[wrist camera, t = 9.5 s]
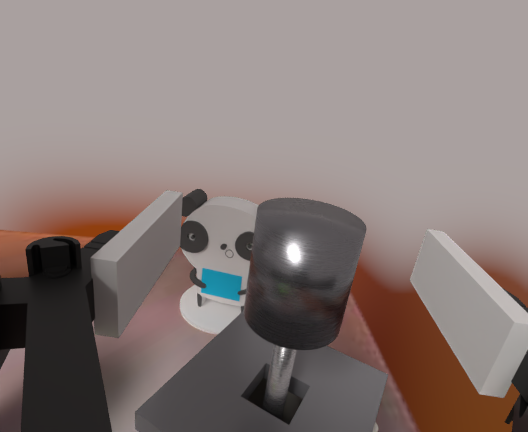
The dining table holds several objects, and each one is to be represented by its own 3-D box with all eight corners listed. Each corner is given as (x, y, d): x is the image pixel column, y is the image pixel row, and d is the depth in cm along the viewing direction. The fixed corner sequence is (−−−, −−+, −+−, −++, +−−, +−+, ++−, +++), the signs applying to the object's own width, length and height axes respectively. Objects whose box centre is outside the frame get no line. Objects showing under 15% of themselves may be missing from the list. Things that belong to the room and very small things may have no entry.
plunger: (201, 518, 18) (235, 215, 12) (242, 454, 21) (285, 191, 15) (268, 571, 17) (349, 253, 10) (301, 493, 20) (376, 217, 14)
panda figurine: (158, 319, 42) (161, 204, 37) (195, 274, 52) (202, 178, 47) (253, 345, 40) (272, 227, 35) (272, 292, 51) (289, 195, 45)
